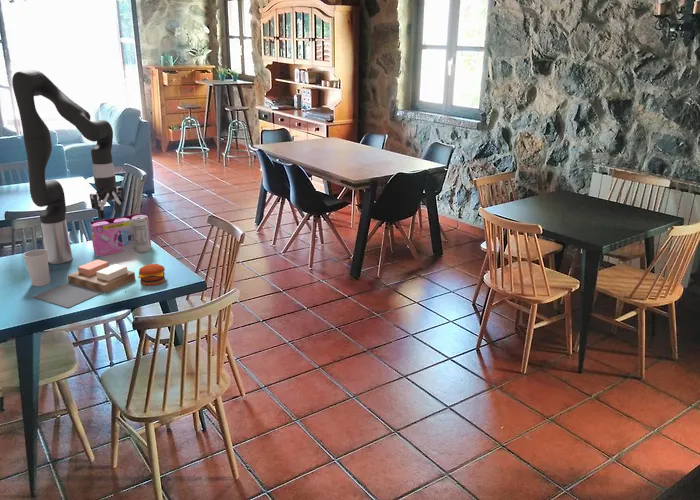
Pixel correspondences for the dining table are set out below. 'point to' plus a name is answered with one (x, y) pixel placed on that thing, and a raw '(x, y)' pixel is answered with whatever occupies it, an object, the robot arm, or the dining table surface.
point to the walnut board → (100, 281)
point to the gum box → (114, 234)
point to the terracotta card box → (92, 267)
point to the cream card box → (111, 272)
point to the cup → (37, 266)
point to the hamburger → (151, 274)
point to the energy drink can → (140, 234)
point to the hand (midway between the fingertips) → (110, 216)
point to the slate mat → (68, 294)
